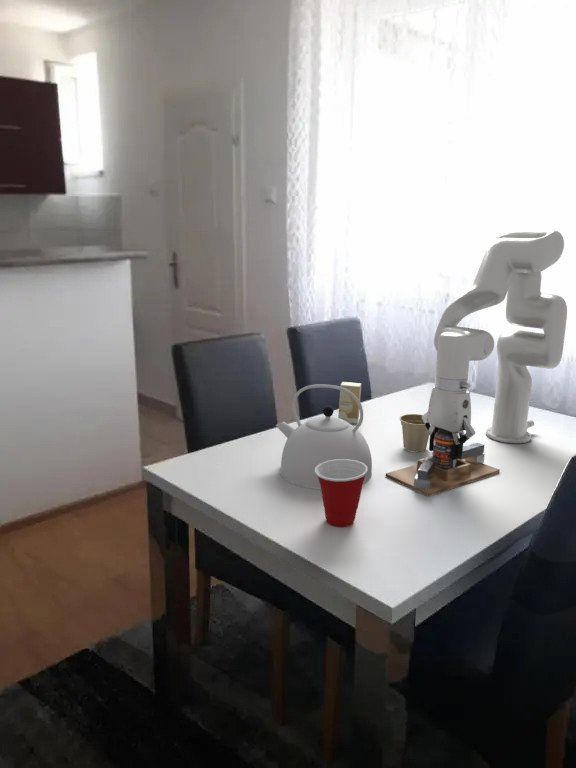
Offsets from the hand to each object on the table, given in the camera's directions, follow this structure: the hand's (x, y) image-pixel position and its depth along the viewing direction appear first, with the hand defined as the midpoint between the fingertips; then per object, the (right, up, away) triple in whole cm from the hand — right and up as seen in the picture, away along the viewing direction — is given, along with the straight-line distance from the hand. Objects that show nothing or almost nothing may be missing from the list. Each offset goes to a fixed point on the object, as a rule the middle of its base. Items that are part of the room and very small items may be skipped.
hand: (445, 453), depth 154 cm
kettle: (-30, -5, +2) cm, 31 cm away
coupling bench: (0, -5, +1) cm, 6 cm away
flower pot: (-4, -1, +19) cm, 20 cm away
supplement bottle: (0, -4, +1) cm, 4 cm away
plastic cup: (-28, -12, -24) cm, 39 cm away
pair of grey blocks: (+1, -5, -1) cm, 5 cm away
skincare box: (-20, +5, +43) cm, 47 cm away
